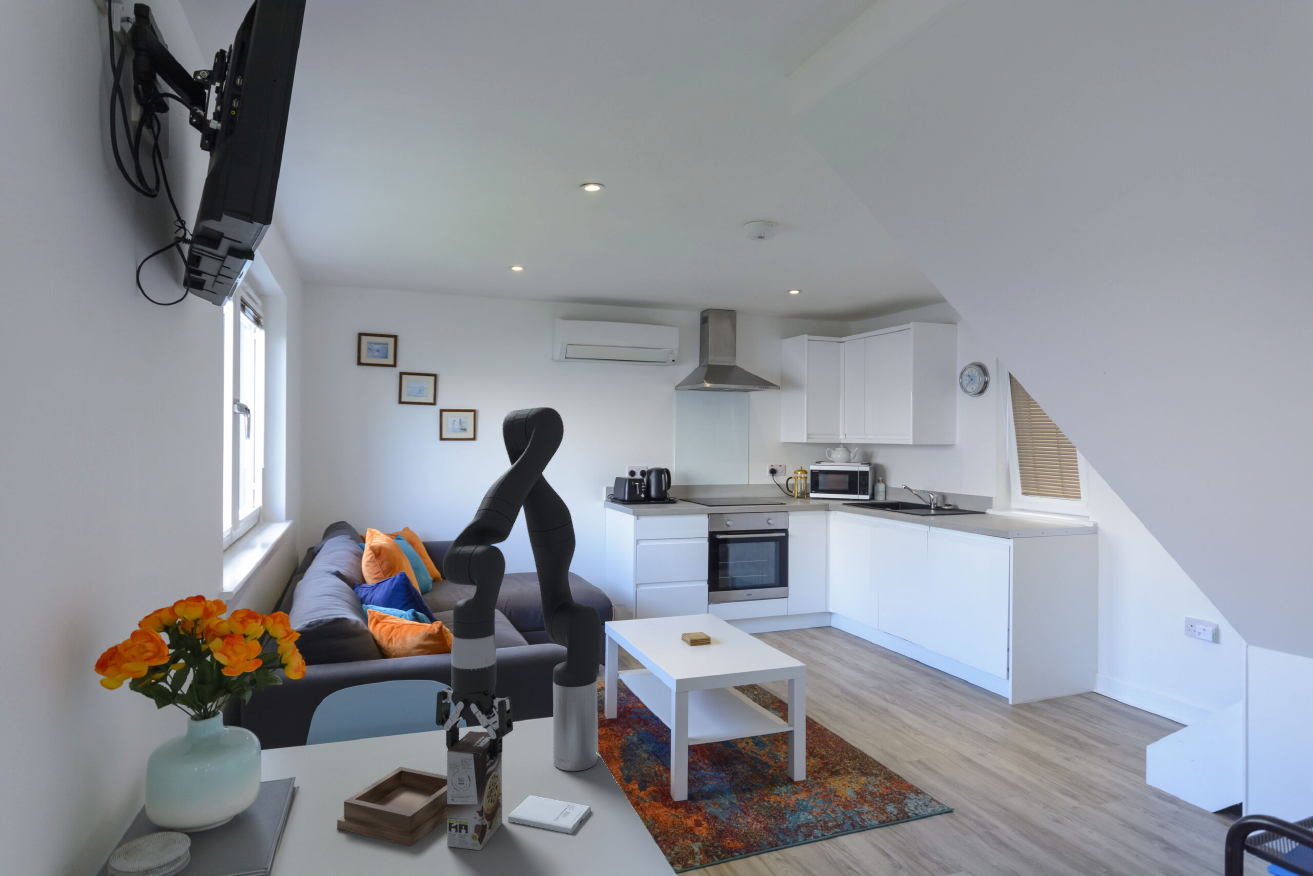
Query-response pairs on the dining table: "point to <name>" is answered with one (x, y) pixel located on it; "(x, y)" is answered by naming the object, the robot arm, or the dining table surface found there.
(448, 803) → the coffee box
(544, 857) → the dining table surface
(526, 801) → the external hard drive
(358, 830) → the wooden tray
